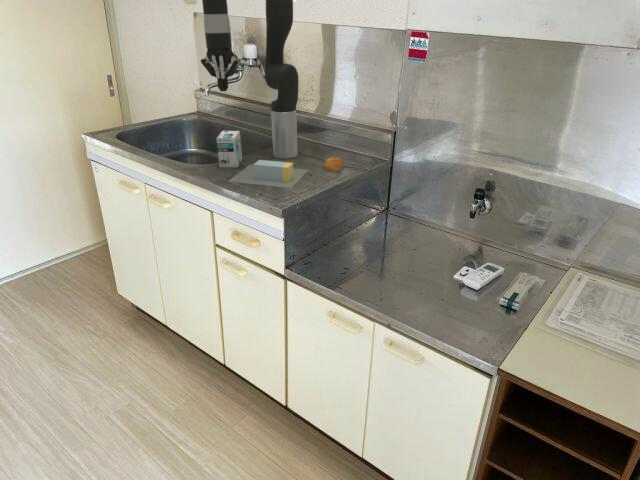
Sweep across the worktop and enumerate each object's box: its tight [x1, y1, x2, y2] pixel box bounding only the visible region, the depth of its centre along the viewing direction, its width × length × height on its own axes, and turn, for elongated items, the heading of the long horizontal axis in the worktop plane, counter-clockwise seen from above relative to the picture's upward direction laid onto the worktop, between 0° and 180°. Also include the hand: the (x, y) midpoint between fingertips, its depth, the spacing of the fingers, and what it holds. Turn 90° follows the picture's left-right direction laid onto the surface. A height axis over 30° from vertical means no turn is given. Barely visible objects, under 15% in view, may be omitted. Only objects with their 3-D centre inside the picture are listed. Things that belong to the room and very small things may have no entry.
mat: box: [227, 164, 309, 189], centre depth 162 cm, size 18×22×1 cm
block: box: [252, 159, 294, 182], centre depth 158 cm, size 5×5×12 cm
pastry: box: [323, 156, 344, 174], centre depth 167 cm, size 9×7×4 cm
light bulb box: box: [216, 130, 243, 168], centre depth 173 cm, size 11×7×11 cm, turn 179°
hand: (223, 90), depth 151 cm, fingers closed
